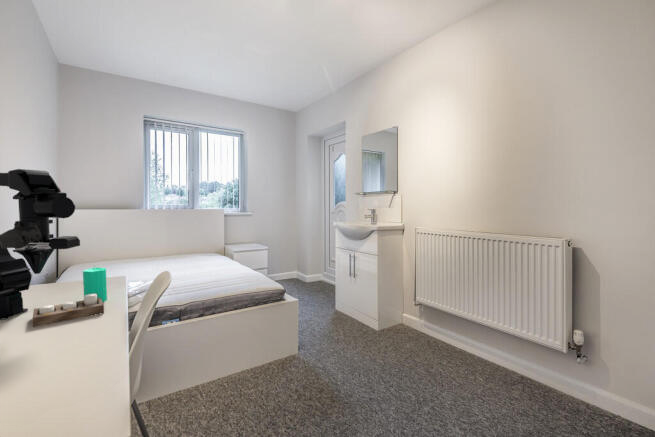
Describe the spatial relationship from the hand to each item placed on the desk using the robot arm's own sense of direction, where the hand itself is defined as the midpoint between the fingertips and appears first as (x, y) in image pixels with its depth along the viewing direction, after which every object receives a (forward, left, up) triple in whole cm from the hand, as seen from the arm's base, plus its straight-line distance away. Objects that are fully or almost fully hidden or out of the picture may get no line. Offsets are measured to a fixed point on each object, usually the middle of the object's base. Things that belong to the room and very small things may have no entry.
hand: (37, 273), depth 82 cm
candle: (+3, +15, -13) cm, 20 cm away
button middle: (+5, +3, -13) cm, 14 cm away
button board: (+5, +3, -13) cm, 15 cm away
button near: (+2, 0, -13) cm, 13 cm away
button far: (+9, +7, -11) cm, 16 cm away
